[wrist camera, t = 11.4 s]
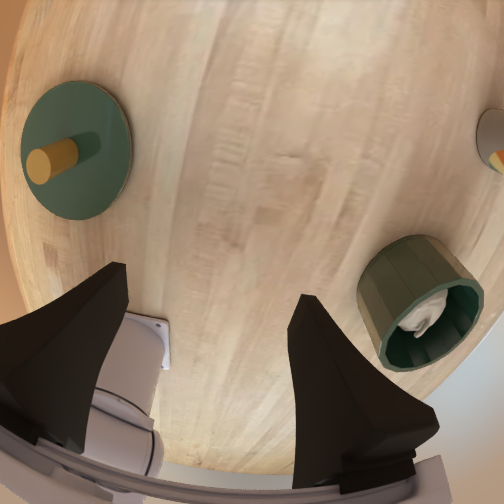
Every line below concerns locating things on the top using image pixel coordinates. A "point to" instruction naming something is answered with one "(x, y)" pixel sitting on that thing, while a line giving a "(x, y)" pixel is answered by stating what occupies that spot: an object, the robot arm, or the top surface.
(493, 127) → the spray bottle
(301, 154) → the top surface
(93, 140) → the lid
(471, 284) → the pot
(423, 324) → the garlic
